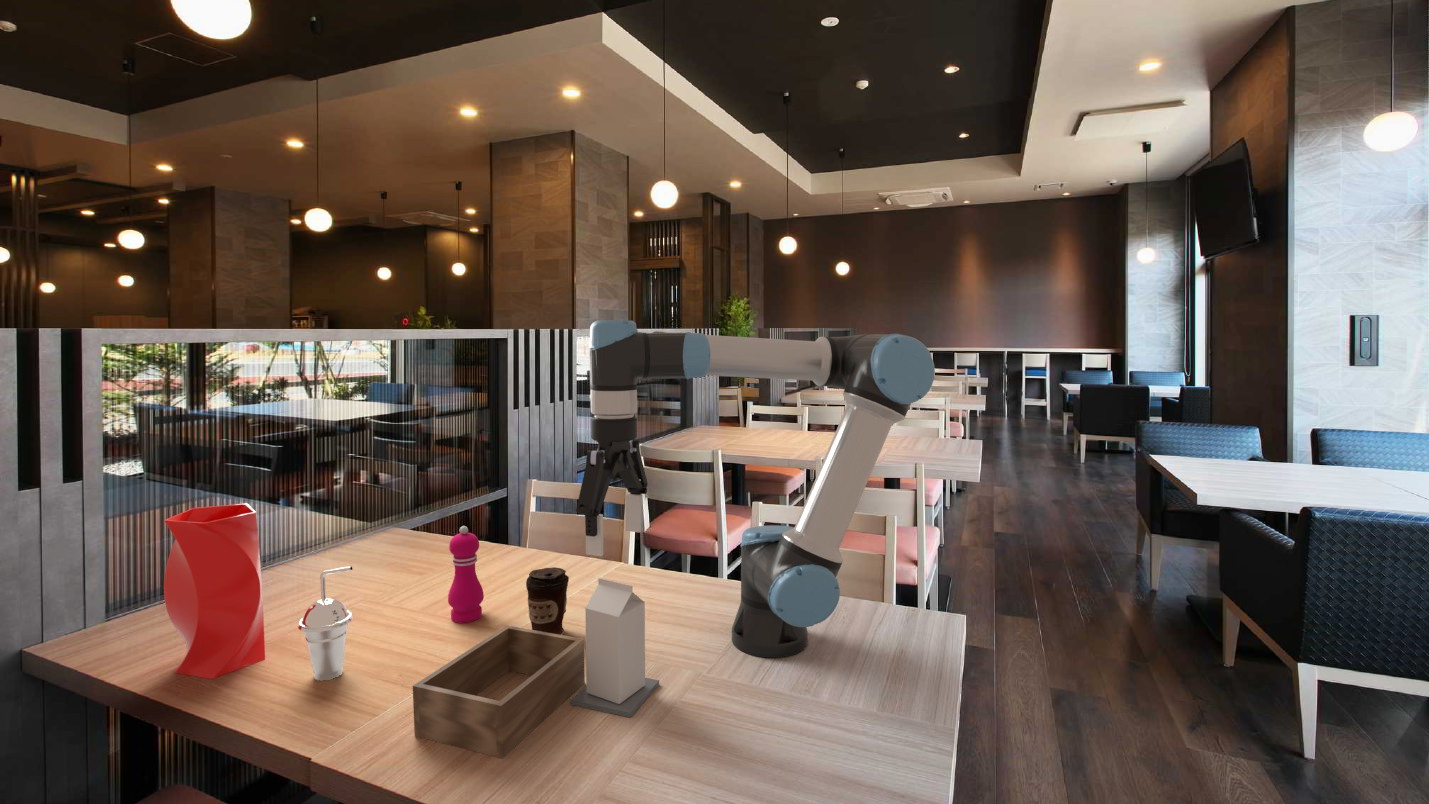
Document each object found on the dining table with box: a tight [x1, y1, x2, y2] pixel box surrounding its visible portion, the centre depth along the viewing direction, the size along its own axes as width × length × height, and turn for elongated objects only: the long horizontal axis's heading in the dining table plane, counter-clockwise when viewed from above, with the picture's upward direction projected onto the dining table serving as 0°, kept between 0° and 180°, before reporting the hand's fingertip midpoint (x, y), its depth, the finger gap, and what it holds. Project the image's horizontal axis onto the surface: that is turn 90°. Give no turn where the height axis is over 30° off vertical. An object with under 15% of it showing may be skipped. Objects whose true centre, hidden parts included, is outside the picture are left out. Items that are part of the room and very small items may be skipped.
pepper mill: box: [447, 525, 485, 624], centre depth 148 cm, size 7×7×20 cm
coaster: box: [570, 677, 660, 718], centre depth 118 cm, size 11×11×1 cm
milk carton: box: [584, 577, 646, 704], centre depth 117 cm, size 7×7×19 cm
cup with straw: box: [297, 566, 354, 682], centre depth 123 cm, size 8×9×20 cm
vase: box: [163, 503, 266, 680], centre depth 129 cm, size 15×14×28 cm
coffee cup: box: [525, 567, 570, 635], centre depth 141 cm, size 9×8×13 cm
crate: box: [412, 624, 586, 759], centre depth 113 cm, size 16×23×8 cm
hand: (615, 542), depth 115 cm, fingers open, 13 cm apart
